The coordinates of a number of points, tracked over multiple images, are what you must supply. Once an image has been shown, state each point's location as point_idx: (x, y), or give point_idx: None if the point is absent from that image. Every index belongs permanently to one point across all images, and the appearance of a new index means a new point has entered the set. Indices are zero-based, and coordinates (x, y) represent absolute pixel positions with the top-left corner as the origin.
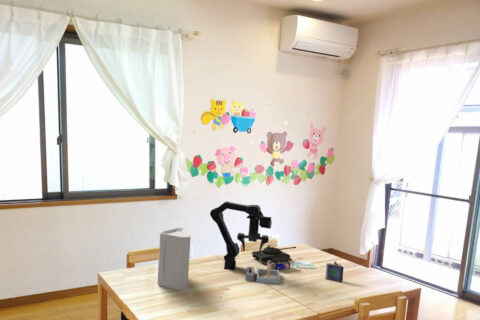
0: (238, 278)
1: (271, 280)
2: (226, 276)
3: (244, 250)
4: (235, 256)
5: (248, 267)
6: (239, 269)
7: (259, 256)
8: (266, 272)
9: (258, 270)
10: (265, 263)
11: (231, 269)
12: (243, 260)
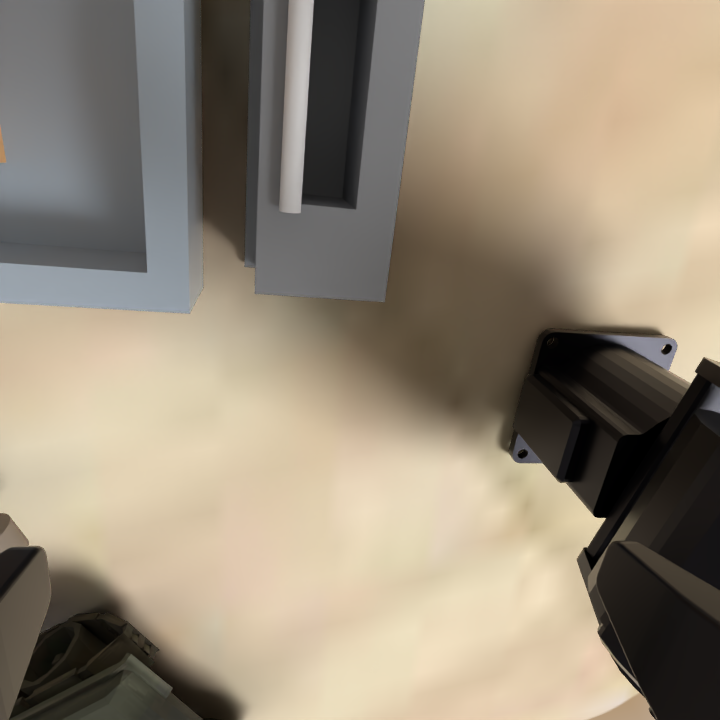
0: (524, 23)
1: None
2: (692, 96)
3: (630, 548)
4: (706, 424)
5: (365, 264)
6: (458, 391)
7: (160, 717)
8: (7, 249)
9: (158, 200)
10: (83, 627)
11: (580, 343)
12: (376, 654)
